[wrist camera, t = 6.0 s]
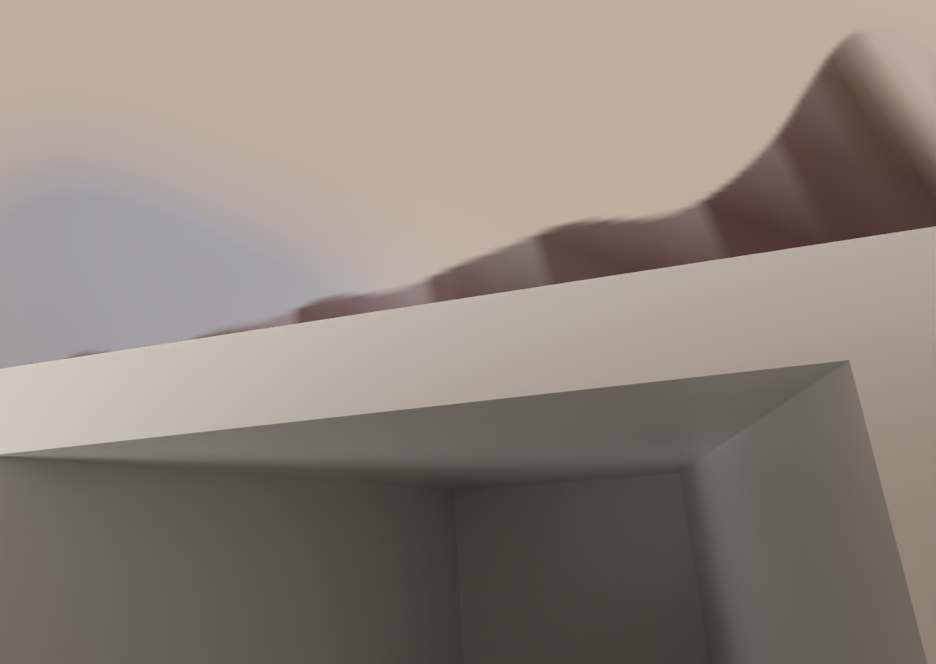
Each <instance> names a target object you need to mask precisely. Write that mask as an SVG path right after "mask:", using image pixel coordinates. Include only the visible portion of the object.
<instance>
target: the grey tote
mask: <svg viewBox="0 0 936 664" xmlns="http://www.w3.org/2000/svg"><path fill="white" fill-rule="evenodd" d="M0 664H936V226H935V227H928V228H922V229H915V230H909V231H902V232H896V233H889V234H882V235H876V236H869V237H863V238H856V239H850V240H843V241H837V242H830V243H823V244H817V245H810V246H804V247H797V248H791V249H784V250H778V251H771V252H764V253H758V254H751V255H745V256H738V257H732V258H725V259H718V260H712V261H705V262H699V263H692V264H686V265H679V266H673V267H666V268H659V269H653V270H646V271H640V272H633V273H627V274H620V275H613V276H607V277H600V278H594V279H587V280H581V281H574V282H568V283H561V284H554V285H548V286H541V287H535V288H528V289H522V290H515V291H509V292H502V293H495V294H489V295H482V296H476V297H469V298H463V299H456V300H449V301H443V302H436V303H430V304H423V305H417V306H410V307H404V308H397V309H390V310H384V311H377V312H371V313H364V314H358V315H351V316H344V317H338V318H331V319H325V320H318V321H312V322H305V323H299V324H292V325H285V326H279V327H272V328H266V329H259V330H253V331H246V332H240V333H233V334H226V335H220V336H213V337H207V338H200V339H194V340H187V341H180V342H174V343H167V344H161V345H154V346H148V347H142V348H135V349H128V350H121V351H115V352H108V353H102V354H95V355H89V356H82V357H76V358H69V359H62V360H56V361H49V362H44V363H36V364H30V365H23V366H17V367H10V368H4V369H0Z"/></svg>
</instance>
